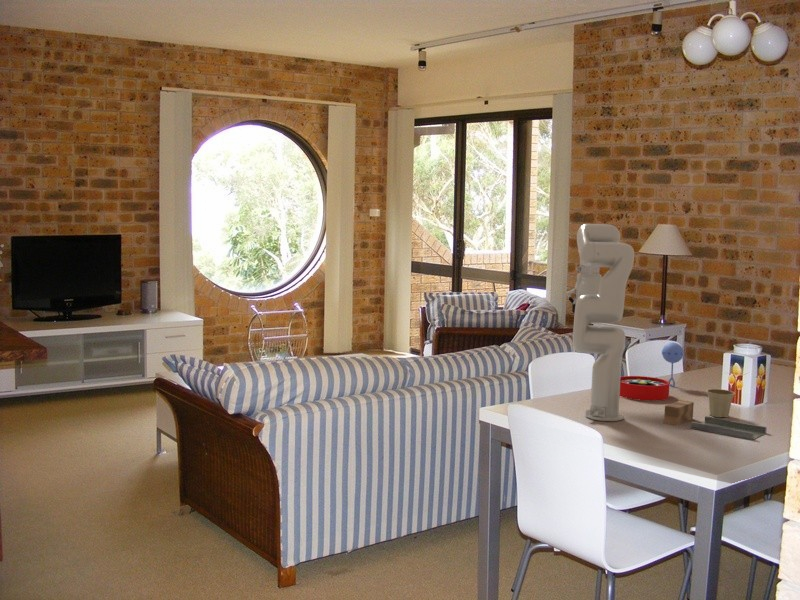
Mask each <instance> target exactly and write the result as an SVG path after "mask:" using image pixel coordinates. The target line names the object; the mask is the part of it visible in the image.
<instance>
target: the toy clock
mask: <svg viewBox="0 0 800 600" xmlns="http://www.w3.org/2000/svg"><path fill="white" fill-rule="evenodd" d="M669 384H671V382H670V383H669V380H666V379H662V378H658V377H651V376H643V375H642V376H641V375H627V376H626V375H623V376H621V379H620V396H623V397H627V398H626V399H628V398H632V399H631V400H634V399H640V400H639V401H643V400H655V401H654V402H656V400H660V401H664V400H665V399H666V400H668V399H669V397H670V385H669ZM623 397H622V398H623Z"/></svg>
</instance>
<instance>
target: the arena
mask: <svg viewBox="0 0 800 600" xmlns="http://www.w3.org/2000/svg"><path fill="white" fill-rule="evenodd" d="M690 424H691V425H690V428H691V429H693V430H698V431H704V432H709V433H713V434H714V433H715V434H719V435H724V436H730V437H735V438H739V439H740V438H741V439H745V440H746V439H747V440H751V441H753V440H755V439H758V438H760V437H761V436H763V435H765V434H767V426H764V425H759V424H758V425H756V424H751V423H746V422H741V421H737V420H736V421H735V420H730V419H725V418H724V419H723V418H720V417H714V416H712V417H711V416H707V415H706V416H705V417H704V421H703V422H696V421H691V423H690Z"/></svg>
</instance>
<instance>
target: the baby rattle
mask: <svg viewBox="0 0 800 600" xmlns="http://www.w3.org/2000/svg"><path fill="white" fill-rule="evenodd" d="M662 347H663V348H662V350H661V355H662V358H663V359H664V360H665V361H666V362H668V363H669V364H671V372H670V373H671V375H670V379H669V380H668V382H669V383H670V384H669V387H675V386H676V381H675V379H674V377H673V376H674V375H673V374H674V364H676V363H679V362H680V361H681V360H682V359H683V357H684V355H685V351H684V348H683V347H682V346H681V344H679V343H677V342H674V341H672V342H668V343H667V344H665V345H664V346H662ZM671 381H672V383H671Z"/></svg>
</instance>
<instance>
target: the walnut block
mask: <svg viewBox="0 0 800 600" xmlns="http://www.w3.org/2000/svg"><path fill="white" fill-rule="evenodd" d="M694 405H695V402H693V401H688V400H682V399H680V400H678V401H675V402H672V403H669V404H667V405H665V406H664V414H663V415H664V418H663V423H664V424H669V425H673V426H679V425H682V424H684V423H687V422H688V421H690V420H693V418H694Z"/></svg>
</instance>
